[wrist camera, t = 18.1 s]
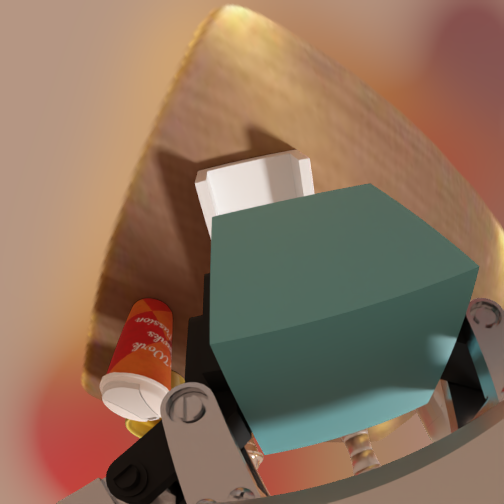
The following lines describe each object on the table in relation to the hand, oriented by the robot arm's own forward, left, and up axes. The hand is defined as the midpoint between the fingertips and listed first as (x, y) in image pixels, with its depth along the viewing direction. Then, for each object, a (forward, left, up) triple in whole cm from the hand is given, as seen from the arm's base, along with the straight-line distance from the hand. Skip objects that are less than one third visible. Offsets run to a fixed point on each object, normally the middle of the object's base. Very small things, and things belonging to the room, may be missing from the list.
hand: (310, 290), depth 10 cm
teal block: (0, +2, +2) cm, 3 cm away
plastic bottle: (-12, +62, -22) cm, 67 cm away
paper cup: (+16, +16, -22) cm, 31 cm away
